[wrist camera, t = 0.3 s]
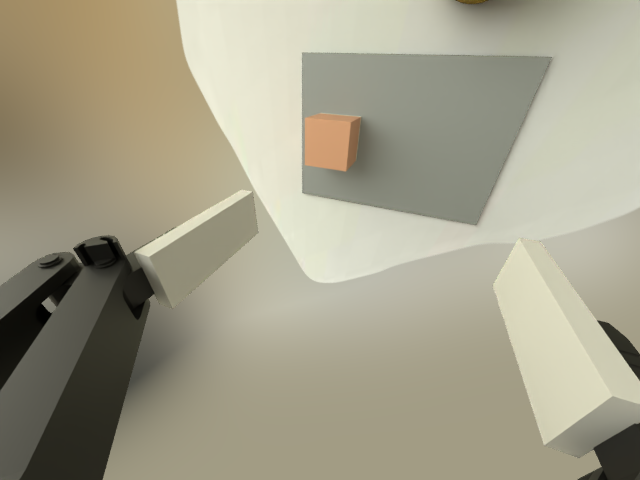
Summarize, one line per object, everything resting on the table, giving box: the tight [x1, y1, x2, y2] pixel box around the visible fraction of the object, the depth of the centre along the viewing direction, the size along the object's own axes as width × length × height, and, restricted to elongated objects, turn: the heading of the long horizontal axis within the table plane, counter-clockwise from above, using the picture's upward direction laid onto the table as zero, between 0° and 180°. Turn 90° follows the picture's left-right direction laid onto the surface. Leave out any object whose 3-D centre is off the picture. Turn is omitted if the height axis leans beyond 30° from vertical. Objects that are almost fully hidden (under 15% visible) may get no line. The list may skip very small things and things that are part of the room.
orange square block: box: [305, 113, 361, 171], centre depth 34 cm, size 6×6×6 cm
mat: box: [302, 53, 552, 225], centre depth 35 cm, size 20×28×1 cm
